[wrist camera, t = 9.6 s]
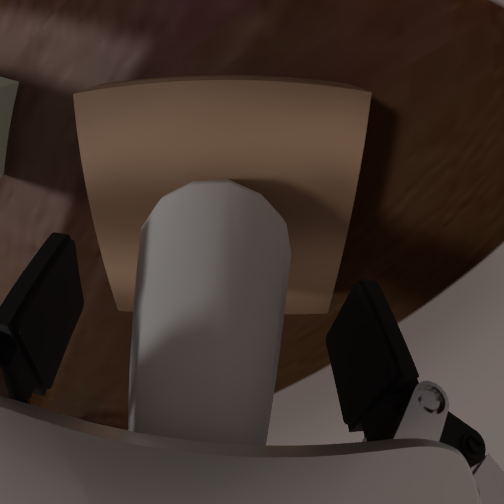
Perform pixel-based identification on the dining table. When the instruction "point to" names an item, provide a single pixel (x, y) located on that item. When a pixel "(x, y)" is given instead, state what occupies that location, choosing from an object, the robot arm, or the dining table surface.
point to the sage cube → (6, 115)
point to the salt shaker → (208, 315)
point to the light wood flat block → (225, 163)
